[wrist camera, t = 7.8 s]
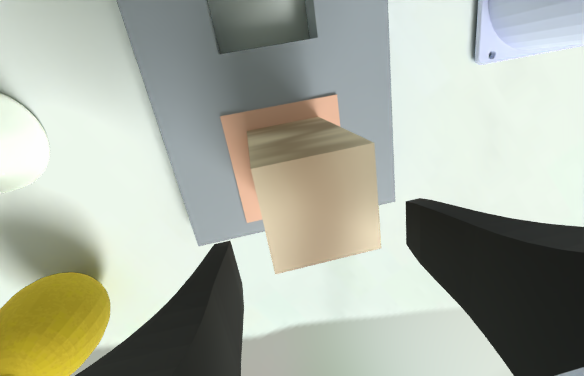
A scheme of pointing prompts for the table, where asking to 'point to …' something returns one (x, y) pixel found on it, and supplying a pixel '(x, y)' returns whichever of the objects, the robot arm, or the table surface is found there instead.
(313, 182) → the peg
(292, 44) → the pocket board
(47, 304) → the lemon
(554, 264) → the robot arm
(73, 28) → the table surface
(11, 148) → the beer glass
